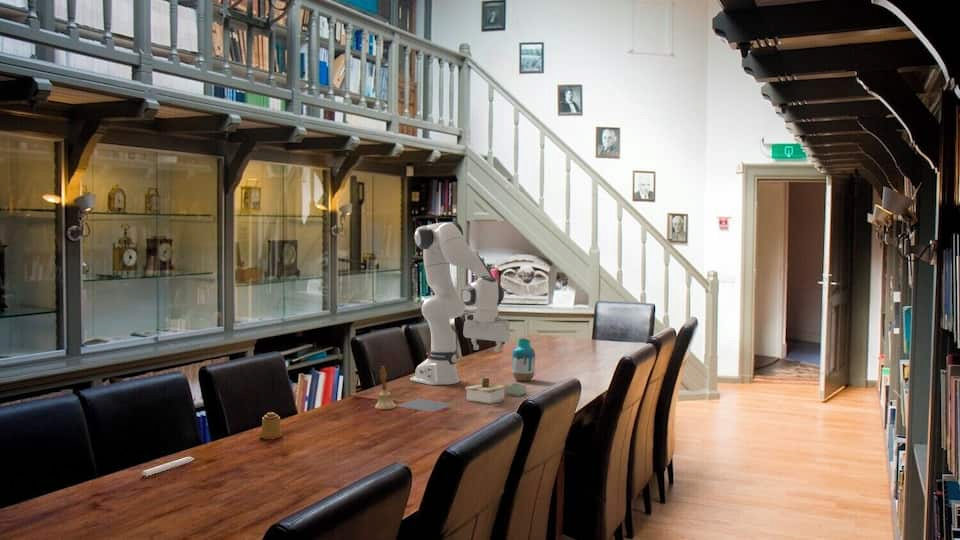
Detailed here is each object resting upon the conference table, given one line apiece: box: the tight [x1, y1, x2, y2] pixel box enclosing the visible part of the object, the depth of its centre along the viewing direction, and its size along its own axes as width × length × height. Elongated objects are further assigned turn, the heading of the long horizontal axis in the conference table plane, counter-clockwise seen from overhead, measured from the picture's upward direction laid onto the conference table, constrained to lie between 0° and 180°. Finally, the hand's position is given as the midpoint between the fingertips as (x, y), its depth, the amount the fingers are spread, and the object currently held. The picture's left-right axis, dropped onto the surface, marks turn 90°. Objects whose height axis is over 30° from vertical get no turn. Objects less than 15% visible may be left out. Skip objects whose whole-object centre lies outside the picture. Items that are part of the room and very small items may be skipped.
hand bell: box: [374, 365, 397, 410], centre depth 312 cm, size 8×8×16 cm
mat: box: [396, 398, 456, 413], centre depth 316 cm, size 18×16×1 cm
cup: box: [505, 382, 527, 397], centre depth 340 cm, size 6×6×4 cm
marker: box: [140, 456, 195, 476], centre depth 232 cm, size 18×2×2 cm, turn 152°
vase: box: [511, 338, 536, 382], centre depth 370 cm, size 11×11×19 cm
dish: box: [466, 388, 505, 405], centre depth 327 cm, size 11×11×5 cm
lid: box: [464, 377, 506, 393], centre depth 327 cm, size 12×12×4 cm
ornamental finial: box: [259, 411, 284, 440], centre depth 268 cm, size 8×8×8 cm
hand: (486, 350), depth 326 cm, fingers open, 8 cm apart
